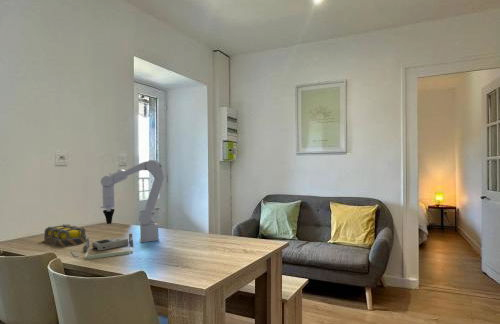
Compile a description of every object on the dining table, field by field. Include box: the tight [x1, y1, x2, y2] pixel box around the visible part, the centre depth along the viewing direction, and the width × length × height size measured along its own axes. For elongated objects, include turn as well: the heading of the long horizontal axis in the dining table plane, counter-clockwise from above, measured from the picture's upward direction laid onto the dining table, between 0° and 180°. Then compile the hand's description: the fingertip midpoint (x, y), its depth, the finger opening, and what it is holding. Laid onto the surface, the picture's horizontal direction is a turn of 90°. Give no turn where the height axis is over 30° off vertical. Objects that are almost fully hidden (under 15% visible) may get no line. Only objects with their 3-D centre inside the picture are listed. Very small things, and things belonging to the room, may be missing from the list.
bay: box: [84, 246, 134, 260], centre depth 148 cm, size 20×9×1 cm, turn 114°
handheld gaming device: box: [91, 237, 129, 251], centre depth 162 cm, size 9×15×4 cm, turn 135°
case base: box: [83, 232, 134, 253], centre depth 163 cm, size 23×13×4 cm, turn 114°
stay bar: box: [70, 250, 80, 258], centre depth 150 cm, size 2×12×1 cm, turn 38°
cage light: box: [43, 223, 87, 247], centre depth 179 cm, size 15×8×30 cm
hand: (109, 223), depth 172 cm, fingers open, 4 cm apart
